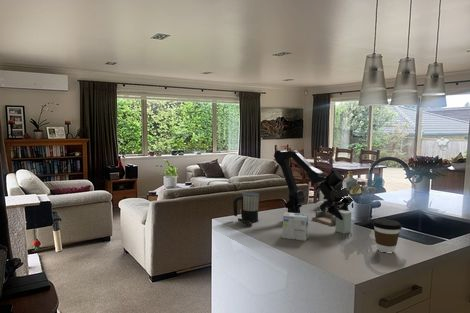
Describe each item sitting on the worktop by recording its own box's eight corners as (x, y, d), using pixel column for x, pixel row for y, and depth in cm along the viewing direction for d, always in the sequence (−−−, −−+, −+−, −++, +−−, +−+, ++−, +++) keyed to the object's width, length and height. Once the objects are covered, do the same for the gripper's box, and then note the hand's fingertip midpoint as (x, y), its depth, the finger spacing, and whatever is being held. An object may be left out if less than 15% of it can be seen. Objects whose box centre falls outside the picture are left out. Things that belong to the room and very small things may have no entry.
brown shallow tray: (330, 225, 171) (330, 217, 171) (312, 219, 182) (312, 212, 181) (342, 222, 177) (343, 214, 177) (324, 217, 187) (324, 209, 187)
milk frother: (254, 217, 185) (254, 191, 184) (267, 225, 170) (267, 197, 169) (230, 219, 180) (230, 192, 178) (241, 228, 165) (241, 198, 164)
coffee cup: (386, 257, 129) (388, 227, 128) (365, 248, 139) (366, 220, 138) (406, 253, 134) (408, 224, 133) (384, 244, 144) (385, 217, 143)
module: (343, 233, 158) (344, 213, 157) (335, 231, 162) (336, 210, 161) (350, 232, 161) (351, 211, 160) (342, 229, 165) (342, 209, 164)
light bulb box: (307, 236, 153) (308, 213, 152) (305, 241, 147) (306, 217, 146) (284, 234, 157) (285, 211, 156) (281, 238, 150) (282, 215, 149)
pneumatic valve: (333, 211, 202) (334, 191, 201) (316, 208, 209) (316, 189, 208) (337, 209, 206) (338, 190, 205) (319, 206, 213) (320, 187, 212)
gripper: (325, 184, 157) (343, 212, 149) (350, 181, 168) (368, 207, 159) (312, 197, 165) (329, 225, 156) (337, 194, 175) (354, 219, 167)
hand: (345, 218), depth 160 cm, fingers closed on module, 5 cm apart
